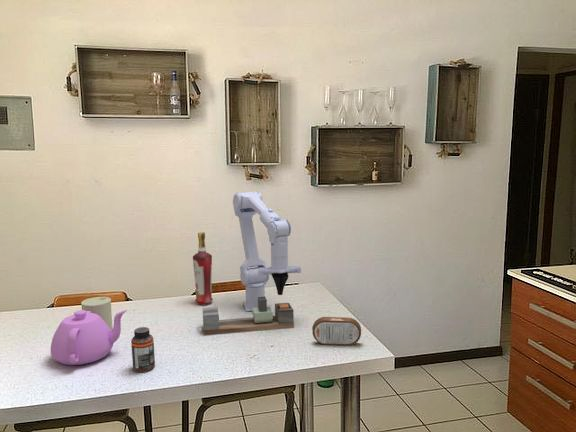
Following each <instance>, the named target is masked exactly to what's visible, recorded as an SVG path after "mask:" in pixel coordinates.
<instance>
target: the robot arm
mask: <svg viewBox="0 0 576 432" xmlns="http://www.w3.org/2000/svg"><path fill="white" fill-rule="evenodd" d="M232 205H233V211H234V215H235V216H236V217H238V222H239V227H240V233H241V239H242V245H243V251H244V257H245V261H244V262H242V264H241V265H240V267H239V269H240V270H239V271H240V273H239V275H240V276H239V278H240V282H241V284H242V285H244V286H245V301H243V306H244V309H245V312H253V308H255V307H258V297H265V298H266V296H265V293H266V292H265V290H266V289H265V287H266V285H267V283H268V281H269V280H270V276H271V277H272V279H273V282H274V283H275V284H274V285H275V287H276V293H277V295H278V296H283V293H284V288H285V285H286V283H287V281H288V279H289V274H301V273H302V268H301V266H300V265H299V266H294V265H293V266H292V265H289V253H288V252H289V248H288V247H289V245H288V243H289V241H288V237H289V236H290V235H291V232H292V227H291V224H290V222H289V220H288V219H284V218H281V217H280V216H279V215H278V214H277V213H276V211H274V209H273V208H268V207H267V206H266V205H265V203H264V202H263V195H262V194H261V192H260V191H258V190H256V191H245V192H235V194H234V195H233V198H232ZM256 214H258V215H259V220H260V222H261V223H262V224H263V225H264V226H265V227H266V231H267V234H268V240H269V243H270V266H269V267H267V263H266V262H265V260H262V259H261V258H260V256H259V250H258V245H257V240H256V234H255V228H254V221H253V217H254V216H255V215H256Z"/></svg>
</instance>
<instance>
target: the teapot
mask: <svg viewBox="0 0 576 432" xmlns="http://www.w3.org/2000/svg"><path fill="white" fill-rule="evenodd" d="M127 311H128V310H127V309H125V310H121V311H119V312H117V313H116V314H115V315H114V318H113V329H112V330H111V331H110V329H109V327H108V326H107V324H106V323H105V322H104V320H103V319H102V318H101V317H100V316H99V315H97V314H94V313H92V312H91V311H85V310H82V309H81V310H76V311H74V312H73V314H72V315H69V316H67V317H65V318H63V319H62V321H61V322H60V323H59V325H58V327H57V329H56V330H55V332H54V334H53V336H52V338H51V344H50V354H51V357H52V358H53V359H54V360H55V361H57V362H58V363H60V364H62V365H65V366H66V365H67V366H79V365H85V364H90V363H95V362H96V361H98V360H101V359H103V358H105V357H106V356H107V355H108V354H109V352H110V351H111V350H112V348H113V347H114V344H115V343H116V342H117V341H118V339H119V338H120V335H121V331H122V327H121V326H122V325H121V324H122V323H121V321H122V316H123V315H124V314H125V313H126V312H127Z"/></svg>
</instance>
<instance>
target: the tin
mask: <svg viewBox="0 0 576 432" xmlns="http://www.w3.org/2000/svg"><path fill="white" fill-rule="evenodd" d="M311 330H312V336H313V338H314V340H315V341H316V342H317V343H318V344H320V345H325V346H326V345H327V346H354V345H355V344H357V343H358V342H359V341H360V339H361V335H362V327H361V324H360V323H359V322H358V321H357V319H354V318H352V317H345V316H344V317H341V316H339V317H336V316H322V317H319V318H318V319H316V320H315V321H314V323H313V325H312V329H311Z"/></svg>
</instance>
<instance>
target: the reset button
mask: <svg viewBox="0 0 576 432" xmlns="http://www.w3.org/2000/svg"><path fill="white" fill-rule="evenodd" d="M286 308H289V306H288V304H280V305H279V309H286Z"/></svg>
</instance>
